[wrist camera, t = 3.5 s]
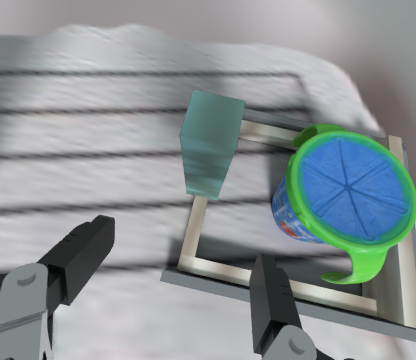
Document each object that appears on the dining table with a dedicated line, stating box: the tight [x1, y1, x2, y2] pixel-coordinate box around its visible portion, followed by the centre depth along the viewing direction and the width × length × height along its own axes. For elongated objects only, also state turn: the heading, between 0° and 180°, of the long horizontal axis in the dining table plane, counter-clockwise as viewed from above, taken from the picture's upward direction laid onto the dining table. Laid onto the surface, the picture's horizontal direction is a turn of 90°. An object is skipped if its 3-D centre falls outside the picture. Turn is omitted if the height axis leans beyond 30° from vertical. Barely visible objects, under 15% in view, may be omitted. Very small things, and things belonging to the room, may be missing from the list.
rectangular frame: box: [160, 108, 416, 342], centre depth 26 cm, size 26×22×3 cm
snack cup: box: [272, 124, 416, 284], centre depth 22 cm, size 16×10×10 cm
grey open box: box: [177, 90, 416, 328], centre depth 20 cm, size 23×20×14 cm
